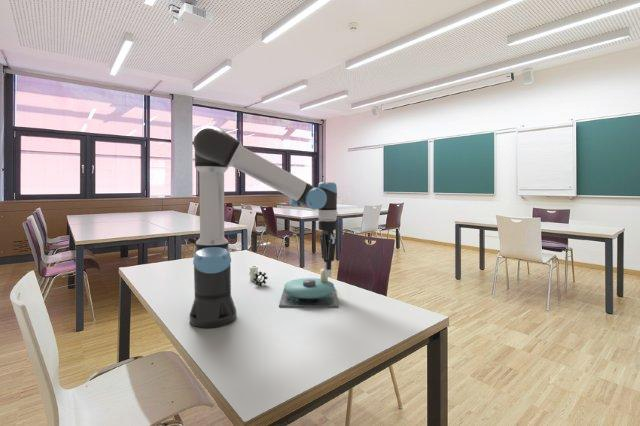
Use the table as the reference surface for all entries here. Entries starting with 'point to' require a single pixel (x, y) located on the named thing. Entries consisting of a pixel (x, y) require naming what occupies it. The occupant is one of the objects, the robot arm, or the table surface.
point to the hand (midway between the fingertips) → (327, 276)
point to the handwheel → (309, 287)
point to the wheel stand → (308, 301)
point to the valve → (257, 275)
